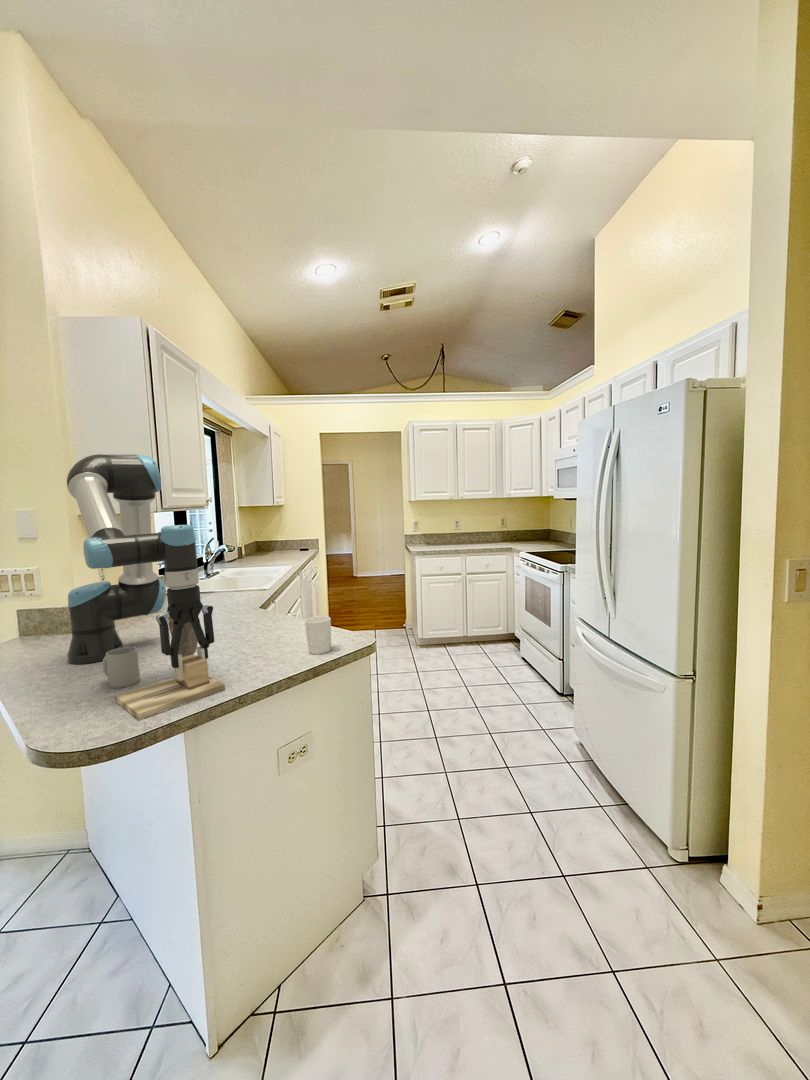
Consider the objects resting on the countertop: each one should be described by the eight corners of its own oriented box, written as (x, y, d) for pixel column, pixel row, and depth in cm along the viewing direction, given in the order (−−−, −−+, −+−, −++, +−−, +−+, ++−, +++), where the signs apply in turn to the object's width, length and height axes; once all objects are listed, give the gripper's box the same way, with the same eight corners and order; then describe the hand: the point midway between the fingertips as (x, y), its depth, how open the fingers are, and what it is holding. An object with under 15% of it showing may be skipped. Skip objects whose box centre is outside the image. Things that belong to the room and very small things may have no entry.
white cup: (337, 648, 146) (335, 617, 146) (320, 656, 140) (318, 623, 139) (319, 645, 151) (317, 615, 150) (301, 652, 144) (299, 621, 143)
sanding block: (175, 682, 121) (173, 659, 120) (195, 675, 125) (193, 653, 124) (189, 689, 115) (186, 666, 115) (209, 682, 119) (207, 660, 119)
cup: (125, 689, 122) (121, 656, 121) (94, 687, 124) (90, 654, 124) (146, 678, 129) (143, 647, 128) (116, 676, 131) (113, 646, 131)
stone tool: (174, 677, 128) (167, 606, 127) (162, 674, 131) (155, 604, 129) (212, 662, 139) (206, 596, 137) (200, 660, 142) (194, 595, 140)
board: (115, 701, 114) (114, 695, 114) (197, 675, 129) (196, 670, 129) (139, 720, 104) (138, 713, 103) (225, 689, 118) (224, 683, 118)
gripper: (150, 594, 109) (160, 691, 111) (224, 581, 122) (232, 667, 124) (138, 591, 114) (148, 683, 116) (210, 579, 127) (218, 662, 129)
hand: (191, 675), depth 120 cm, fingers closed on sanding block, 5 cm apart
